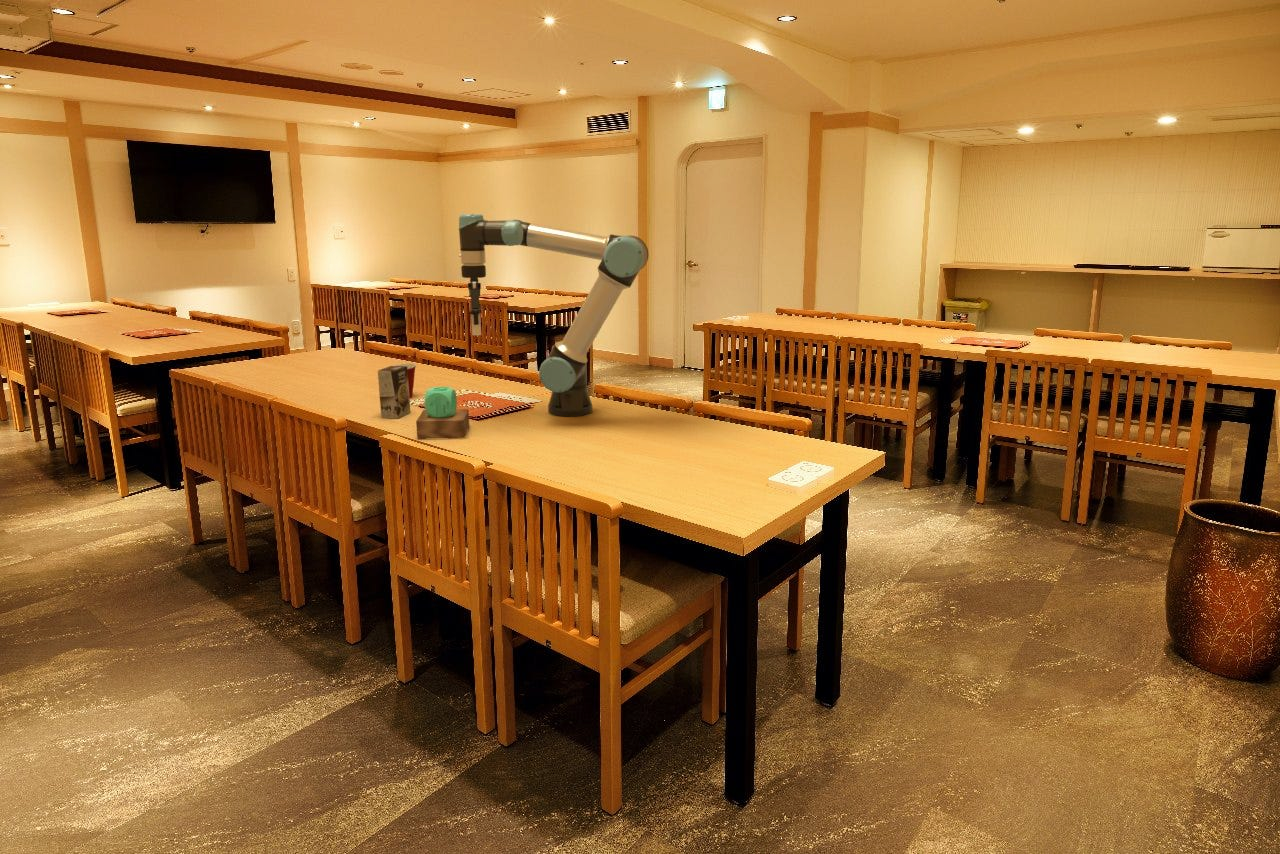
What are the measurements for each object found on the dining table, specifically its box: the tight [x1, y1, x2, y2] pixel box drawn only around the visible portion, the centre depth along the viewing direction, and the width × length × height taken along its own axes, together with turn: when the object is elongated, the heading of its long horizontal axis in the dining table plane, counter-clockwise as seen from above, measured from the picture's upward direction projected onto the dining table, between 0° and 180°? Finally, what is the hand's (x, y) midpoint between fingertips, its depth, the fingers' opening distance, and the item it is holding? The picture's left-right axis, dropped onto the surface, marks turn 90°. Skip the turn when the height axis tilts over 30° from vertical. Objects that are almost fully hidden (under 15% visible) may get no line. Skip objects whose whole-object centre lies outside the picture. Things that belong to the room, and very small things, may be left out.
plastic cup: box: [391, 362, 417, 399], centre depth 290 cm, size 11×11×12 cm
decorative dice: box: [424, 386, 458, 418], centre depth 243 cm, size 8×8×8 cm
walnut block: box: [415, 408, 470, 440], centre depth 245 cm, size 14×14×6 cm
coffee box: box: [377, 365, 412, 419], centre depth 264 cm, size 9×6×16 cm
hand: (476, 332), depth 254 cm, fingers open, 13 cm apart
